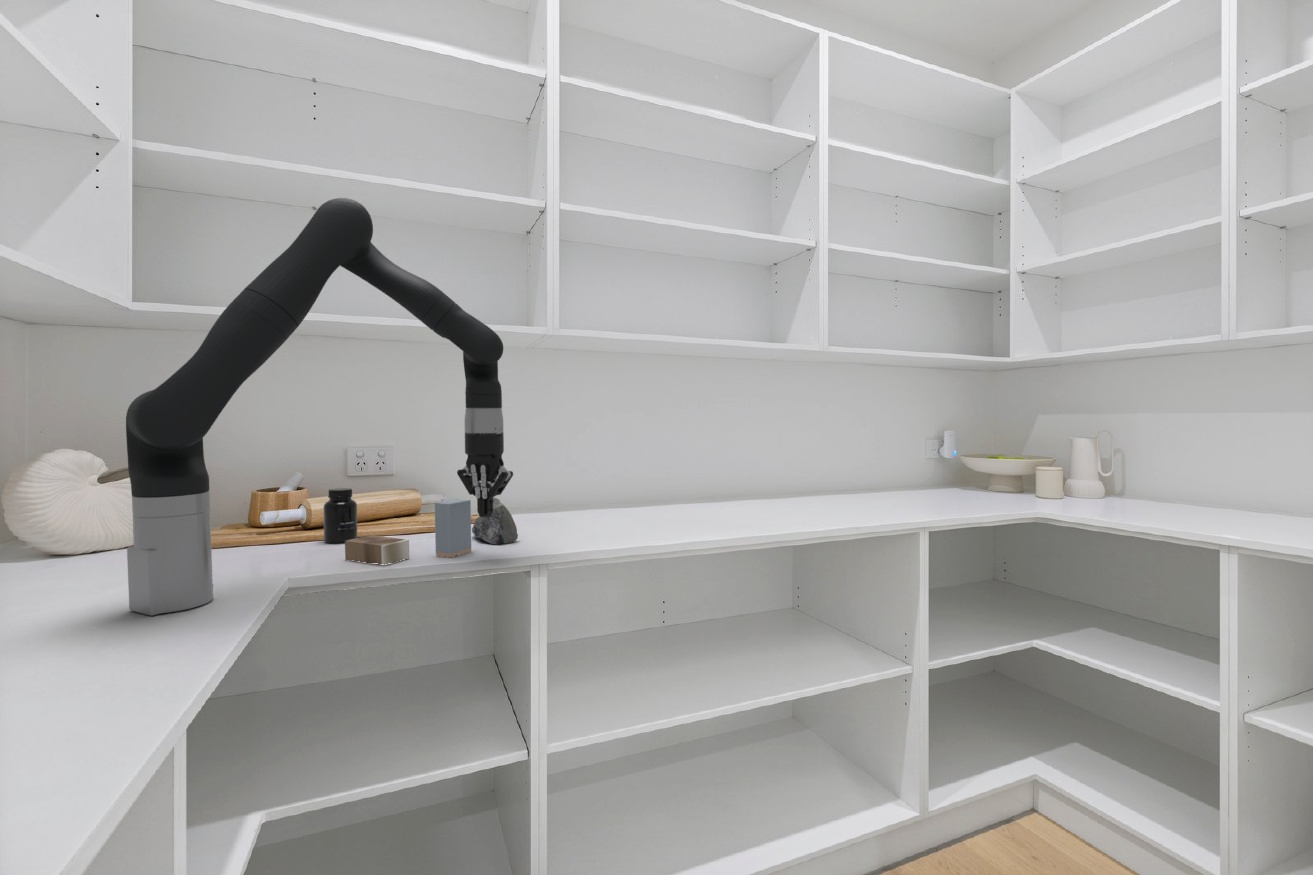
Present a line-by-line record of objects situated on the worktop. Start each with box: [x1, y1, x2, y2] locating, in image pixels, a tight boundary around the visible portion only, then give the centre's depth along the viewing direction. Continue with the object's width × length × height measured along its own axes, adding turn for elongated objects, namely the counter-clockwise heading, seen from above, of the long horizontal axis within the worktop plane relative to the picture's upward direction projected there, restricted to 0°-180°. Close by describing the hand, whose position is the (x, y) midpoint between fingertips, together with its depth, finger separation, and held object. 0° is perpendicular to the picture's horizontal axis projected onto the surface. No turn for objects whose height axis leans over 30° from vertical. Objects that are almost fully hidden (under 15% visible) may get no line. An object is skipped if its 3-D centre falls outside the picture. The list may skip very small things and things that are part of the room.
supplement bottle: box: [323, 487, 358, 545], centre depth 137 cm, size 7×7×12 cm
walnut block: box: [344, 534, 410, 565], centre depth 120 cm, size 6×4×11 cm
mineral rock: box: [471, 497, 519, 546], centre depth 138 cm, size 13×11×10 cm
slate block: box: [434, 498, 472, 558], centre depth 124 cm, size 6×4×11 cm, turn 155°
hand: (485, 516), depth 120 cm, fingers closed
